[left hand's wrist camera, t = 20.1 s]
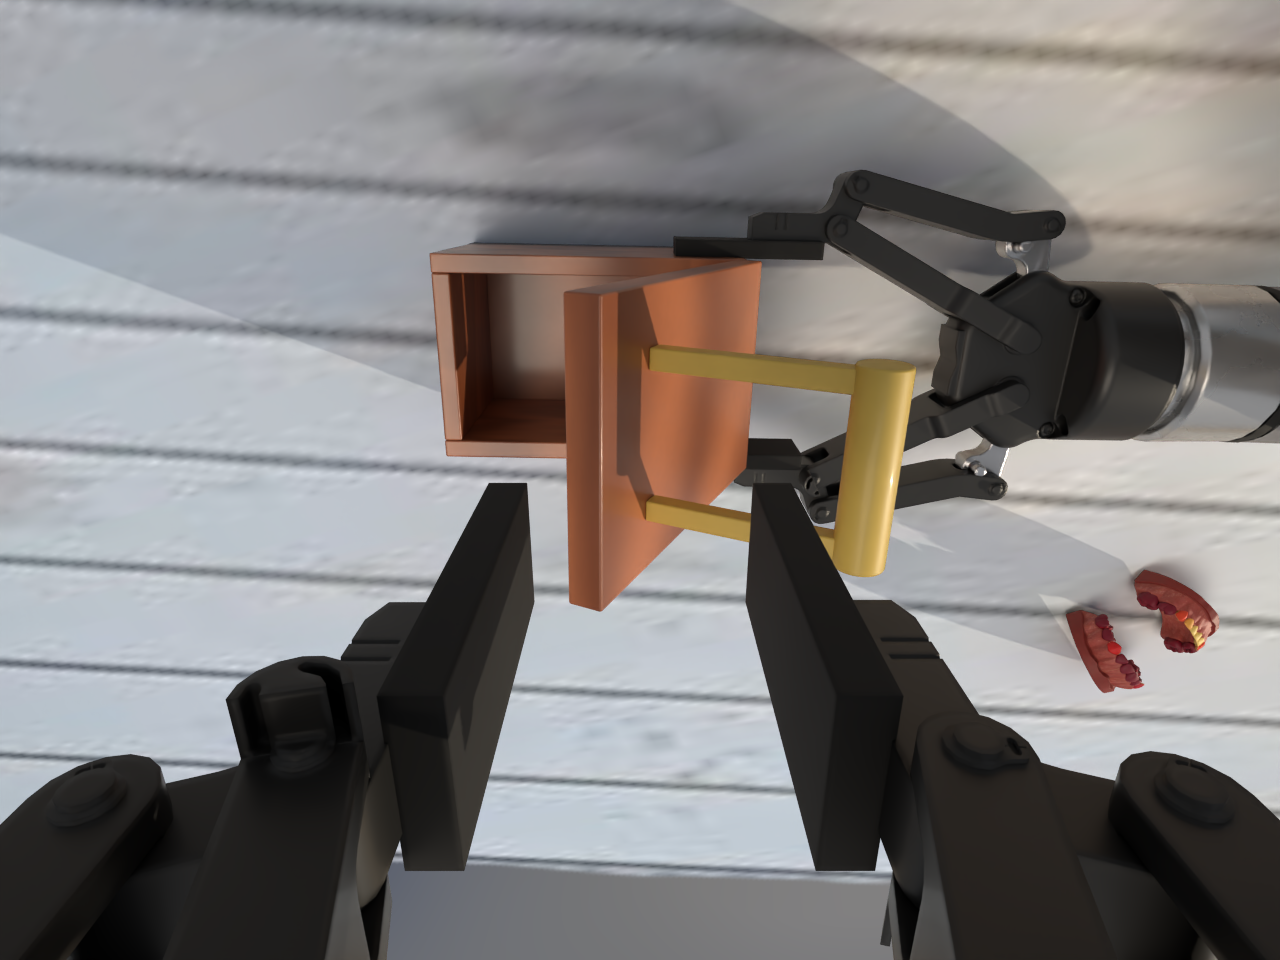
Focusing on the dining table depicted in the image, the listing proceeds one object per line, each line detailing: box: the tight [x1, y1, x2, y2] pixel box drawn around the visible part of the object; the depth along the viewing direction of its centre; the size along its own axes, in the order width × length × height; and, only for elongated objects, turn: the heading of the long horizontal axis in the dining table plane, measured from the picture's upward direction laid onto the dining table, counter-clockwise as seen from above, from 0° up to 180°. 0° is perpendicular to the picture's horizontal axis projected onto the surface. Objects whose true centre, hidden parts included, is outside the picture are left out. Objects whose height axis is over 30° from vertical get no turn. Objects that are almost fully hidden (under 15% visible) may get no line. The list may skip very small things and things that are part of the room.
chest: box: [430, 243, 746, 458], centre depth 36 cm, size 14×9×9 cm
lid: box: [563, 260, 916, 611], centre depth 24 cm, size 14×9×8 cm
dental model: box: [1066, 570, 1219, 693], centre depth 45 cm, size 6×4×8 cm
